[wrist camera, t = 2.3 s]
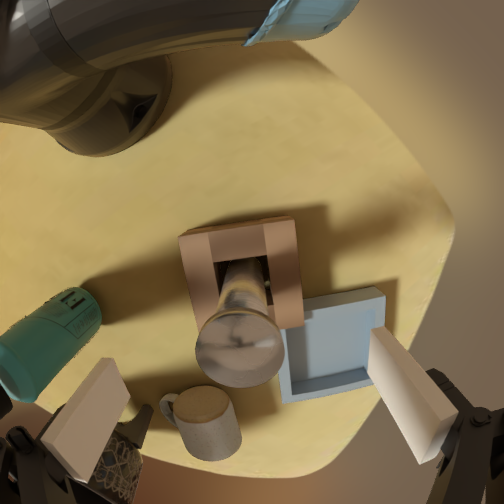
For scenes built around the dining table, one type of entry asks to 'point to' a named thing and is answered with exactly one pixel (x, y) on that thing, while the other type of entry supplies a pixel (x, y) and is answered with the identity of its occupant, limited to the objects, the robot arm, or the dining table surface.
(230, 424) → the ceramic mug
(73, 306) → the beverage bottle
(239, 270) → the pin
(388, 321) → the dining table surface
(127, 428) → the planter
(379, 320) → the tray
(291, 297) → the block
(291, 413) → the dining table surface
